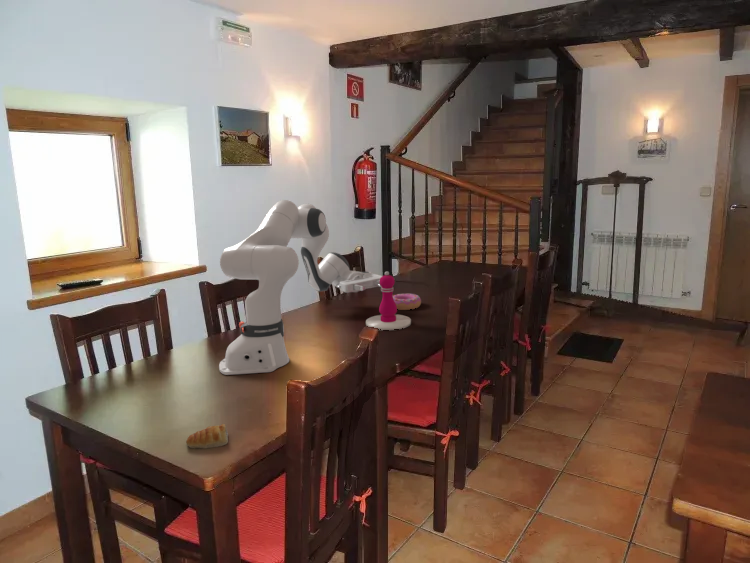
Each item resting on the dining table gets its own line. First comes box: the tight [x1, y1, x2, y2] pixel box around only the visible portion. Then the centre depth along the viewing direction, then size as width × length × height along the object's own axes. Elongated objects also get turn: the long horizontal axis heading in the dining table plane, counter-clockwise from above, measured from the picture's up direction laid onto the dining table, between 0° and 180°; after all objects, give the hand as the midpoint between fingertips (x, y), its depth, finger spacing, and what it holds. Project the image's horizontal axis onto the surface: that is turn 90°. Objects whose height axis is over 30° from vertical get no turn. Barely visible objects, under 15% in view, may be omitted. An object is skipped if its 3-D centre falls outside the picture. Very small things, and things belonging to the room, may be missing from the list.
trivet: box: [365, 313, 412, 331], centre depth 214 cm, size 18×18×2 cm
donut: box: [393, 293, 422, 311], centre depth 240 cm, size 14×14×5 cm
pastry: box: [186, 423, 229, 450], centre depth 125 cm, size 9×7×4 cm
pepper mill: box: [378, 270, 398, 322], centre depth 212 cm, size 7×7×20 cm
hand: (373, 286), depth 219 cm, fingers open, 8 cm apart
